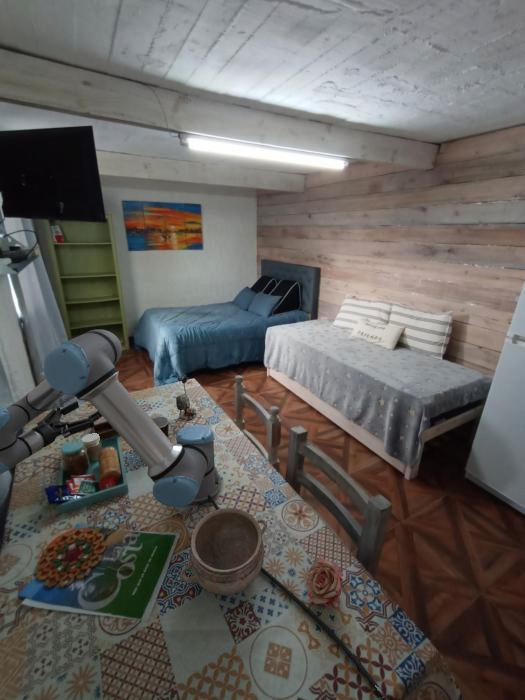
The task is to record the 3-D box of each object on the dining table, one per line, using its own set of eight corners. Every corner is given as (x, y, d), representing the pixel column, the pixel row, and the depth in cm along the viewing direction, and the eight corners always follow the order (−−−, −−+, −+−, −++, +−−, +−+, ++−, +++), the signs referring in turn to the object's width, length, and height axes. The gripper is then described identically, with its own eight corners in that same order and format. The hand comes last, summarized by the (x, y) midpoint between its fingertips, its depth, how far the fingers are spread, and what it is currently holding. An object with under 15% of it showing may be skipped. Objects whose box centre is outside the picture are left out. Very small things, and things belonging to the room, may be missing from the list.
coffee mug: (167, 449, 127) (165, 428, 123) (146, 449, 127) (143, 428, 124) (175, 432, 138) (173, 412, 134) (155, 431, 138) (153, 412, 134)
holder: (134, 429, 139) (133, 423, 138) (94, 441, 131) (93, 435, 130) (130, 420, 146) (129, 414, 145) (91, 431, 137) (90, 425, 136)
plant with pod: (171, 418, 148) (168, 380, 141) (190, 408, 157) (187, 371, 150) (183, 424, 144) (180, 385, 137) (201, 413, 152) (199, 376, 145)
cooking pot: (202, 639, 69) (199, 603, 64) (168, 570, 83) (163, 536, 78) (287, 569, 83) (289, 536, 79) (245, 520, 97) (246, 489, 93)
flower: (322, 557, 85) (311, 550, 80) (355, 575, 79) (345, 568, 74) (309, 598, 80) (296, 592, 76) (342, 619, 74) (331, 615, 70)
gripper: (14, 439, 110) (69, 409, 129) (66, 457, 102) (116, 422, 120) (9, 421, 107) (65, 393, 126) (61, 438, 99) (113, 405, 118)
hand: (90, 407), depth 123 cm, fingers open, 13 cm apart
